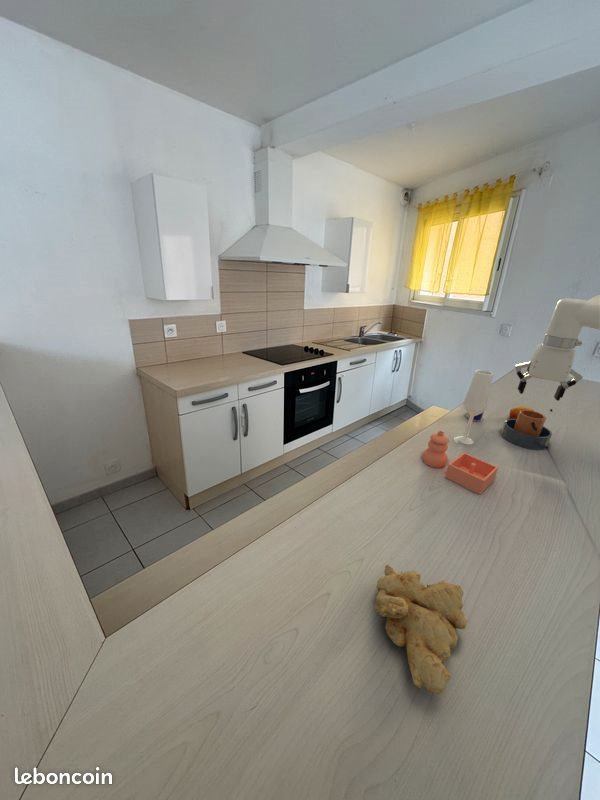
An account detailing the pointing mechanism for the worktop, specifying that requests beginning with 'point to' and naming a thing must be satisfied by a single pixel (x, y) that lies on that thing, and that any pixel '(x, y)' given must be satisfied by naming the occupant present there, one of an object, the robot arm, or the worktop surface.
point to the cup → (529, 422)
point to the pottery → (459, 465)
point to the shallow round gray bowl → (525, 437)
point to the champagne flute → (476, 400)
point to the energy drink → (475, 417)
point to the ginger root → (421, 623)
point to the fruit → (517, 411)
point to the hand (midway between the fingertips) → (538, 395)
